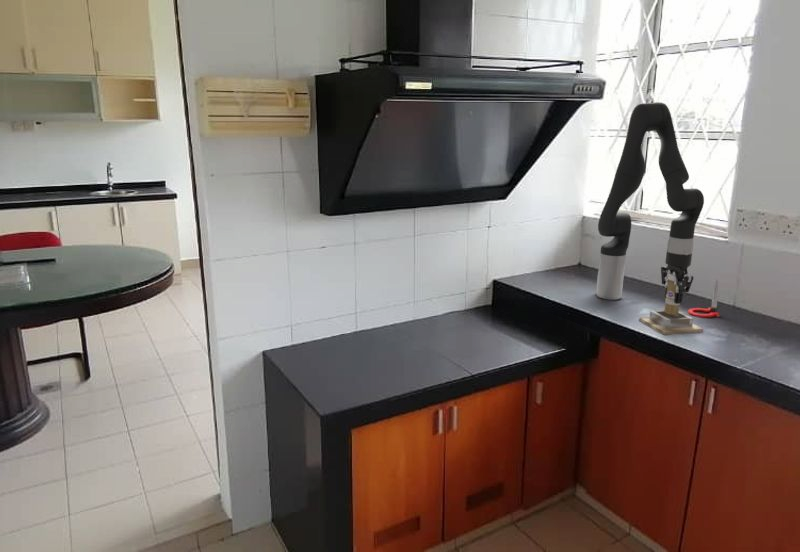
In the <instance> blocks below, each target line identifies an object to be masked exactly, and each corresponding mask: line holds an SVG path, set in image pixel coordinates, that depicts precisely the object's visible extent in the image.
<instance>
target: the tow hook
mask: <svg viewBox="0 0 800 552" xmlns="http://www.w3.org/2000/svg"><path fill="white" fill-rule="evenodd" d="M718 281H719V279H718V278H716V279H715V281H714V285H713V294H712V295H713V296H712V300H711V306H709V307H708V308H703V307H702V308H701V307H692V308H689V309H688V310H687V313H688V314H689V316H690V315H691V316H694V317H697V318H713V317H716V318H720V316H721V314H720V313H719V312H718V307H717V306H718V300H717V298H718V289H719V285H718V283H719V282H718ZM697 312H705V313H704V314H703V313H697Z"/></svg>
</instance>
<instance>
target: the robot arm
mask: <svg viewBox="0 0 800 552" xmlns="http://www.w3.org/2000/svg"><path fill="white" fill-rule="evenodd" d="M647 132H656V134H657V135H658V137H659V140H660V149H659V154H658V166H659V170H660V172H661V175H662V177H663V179H664V181H665V190H666V191H665V192H666V199H667V204H668V206H669V208H670V209H672V211H674V212H680V215H679V216H678V217H676V218H674V219H672V220H671V223H670V229H669V236H668V241H667V245H666V246H667V247H666V253H665V261H664V262H665V264H666V266H661V267H660V274H661V277H660V278H661V284H662V285H664V288H665V291H664V292H665V293H664V298H665V299H666V294H667V288H668V281H669V280H668V276H669V274H673V276H674V277H675V278H674V285H675V286H676V292H675V300H674V303H676V304H682V302H683V299H684V298H683V296H684V293H688V292H689V291H690V289H691V286H692V283H693V282H694V276H693V275H689V273H688V269H689V267H691V265H692V258H693V250H694V237H695V229H696V228H695V227H696V224H697V222H698V220H699V217H700V215H701V213H702V211H703V208H704V204H705V196H704V194H703V192H702V191H701V190H700V189H698V188H685V187H684V184H685V183H687V181H689V179H690V175H689V172H688V170H687V167H686V165H685V163H684V160H683V158H682V155H681V152H680V149H679V145H678V141H677V136H676V132H675V127H674V123H673V119H672V114H671V112H670V109H669V107H668V105H667V104H666V103H664V102H659V101H658V102H655V101H654V102H643V103H639V104H636V106H635V107H634V108H633V109H632V111H631V114H630V118H629V122H628V127H627V133H626V137H625V142H624V146H623V149H622V152H621V156H620V160H619V161H618V165H617V168H616V170H615V174H614V178H613V182H612V186H611V189H610V190H609V193H608V197H607V199H606V202H605V203H604V204H605V205H604V207H603V209H602V211H601V214H600V216H599V220H598V224H597V228H598V229H597V230H598V233H599V235H600V236H603V237H607V238H610V237H611V238H612V237H613V238H612V239H611V240H610V241H608V242H607V243H604V244H602V245H601V247H600V256H599V266H598V271H597V277H596V290H595V294H596V297H597V298H600V299H604V300H613V301H614V300H620V299H622V296H623V295H622V294H623V285H624V279H625V278H624V276H625V268H626V267H625V266H626V257H627V251H628V248H629V244H630V236H631V233H632V231H631V230H632V218H631V214H629V213H628V212H626V211H620V208H621V207H622V205H623V204H624V203H625V202H626V201H627V200H628V199H629V198H630V197H632V195H633V194H634V193H635V192H636V191H637V190H638V189H639V187H640V186H641V184H642V181H643V179H644V176H645V172H646V166H647V165H646V160H645V157H644V154H643V151H642V148H643V147H642V146H643V141H644V137H645V135H646V133H647ZM679 281H682V283H678V282H679ZM680 285H681V288H680V289H679V286H680Z"/></svg>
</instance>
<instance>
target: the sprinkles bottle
mask: <svg viewBox="0 0 800 552" xmlns="http://www.w3.org/2000/svg"><path fill="white" fill-rule="evenodd" d="M674 278H675V277H674V276H673V274H669V276H668V280H669V281H668V288H667V294H666V298H665V300H664V301H665V304H664V309H663V310H664V312H665V313H667V314H670V315H677V314H678V313H679V311H680V304H681V303H680V304H676V303H674V300H675V292H676V286H675V285H674ZM678 283H682V281H679V282H678ZM680 288H681V285H680V286H679V289H680Z"/></svg>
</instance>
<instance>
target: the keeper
mask: <svg viewBox="0 0 800 552" xmlns="http://www.w3.org/2000/svg"><path fill="white" fill-rule="evenodd" d="M664 310H665V309H662V310H658V309H657V310H650V312H649V316H645V317H644V316H642V317H638V320H639V321H640V322H641V323H643V324H644V325H646V326H648V327H650V328H652V329H653V330H655V331H657V332H658V333H660V334H662V335H664V336H665V335H667V334H668V335H678V334H692V333H702V332H704V328H702V327H700V326H698V325H696V324H694V318H693V317H691V316H690V315H687V314H685V313H683V312H682V311H680V310H679V313H678V314H677V315H670V314H667V313H665V312H664ZM668 335H667V336H668Z"/></svg>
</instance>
